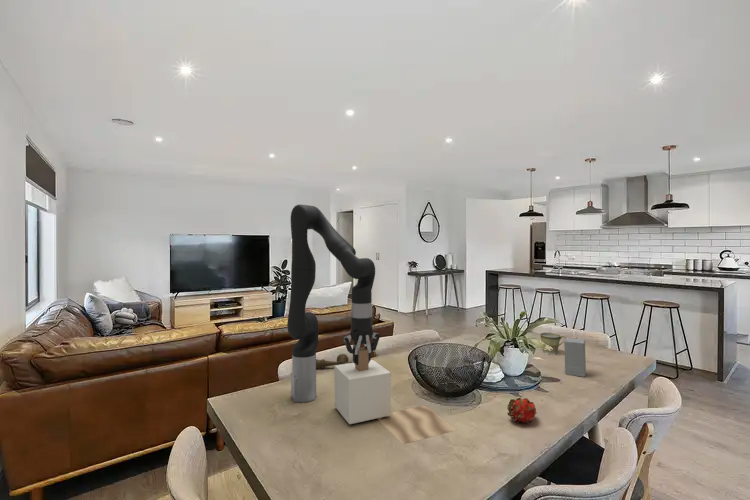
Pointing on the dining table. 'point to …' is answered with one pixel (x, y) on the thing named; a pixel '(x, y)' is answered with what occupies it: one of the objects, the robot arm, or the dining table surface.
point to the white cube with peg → (362, 389)
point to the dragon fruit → (521, 410)
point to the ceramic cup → (551, 341)
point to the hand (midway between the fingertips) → (361, 363)
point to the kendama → (340, 360)
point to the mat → (415, 424)
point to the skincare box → (575, 357)
